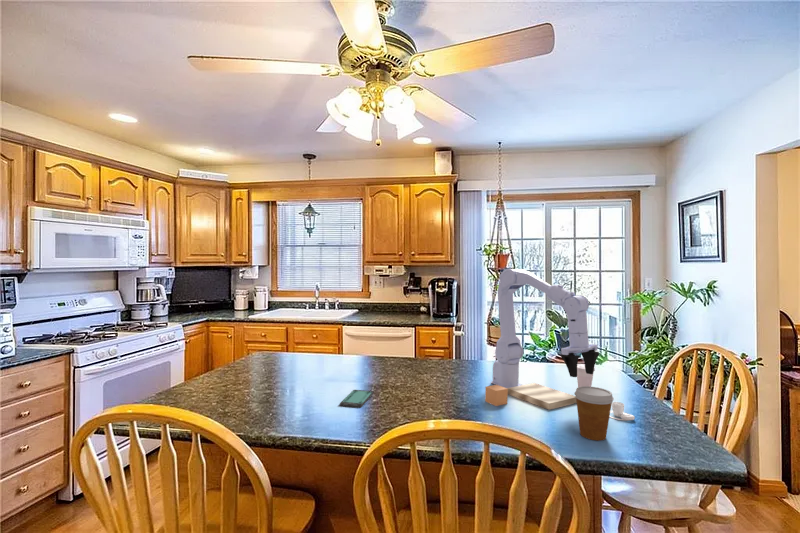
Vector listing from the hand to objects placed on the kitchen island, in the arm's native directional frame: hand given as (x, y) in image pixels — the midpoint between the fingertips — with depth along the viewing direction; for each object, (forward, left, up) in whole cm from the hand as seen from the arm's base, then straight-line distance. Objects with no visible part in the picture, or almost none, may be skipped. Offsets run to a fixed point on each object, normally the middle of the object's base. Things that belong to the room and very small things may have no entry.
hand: (581, 375), depth 133 cm
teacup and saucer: (+11, 0, -11) cm, 16 cm away
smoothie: (-8, +13, -10) cm, 19 cm away
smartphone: (-40, -61, -11) cm, 73 cm away
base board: (-12, -5, -10) cm, 16 cm away
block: (-16, -22, -10) cm, 29 cm away
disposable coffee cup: (+16, -18, -10) cm, 26 cm away
